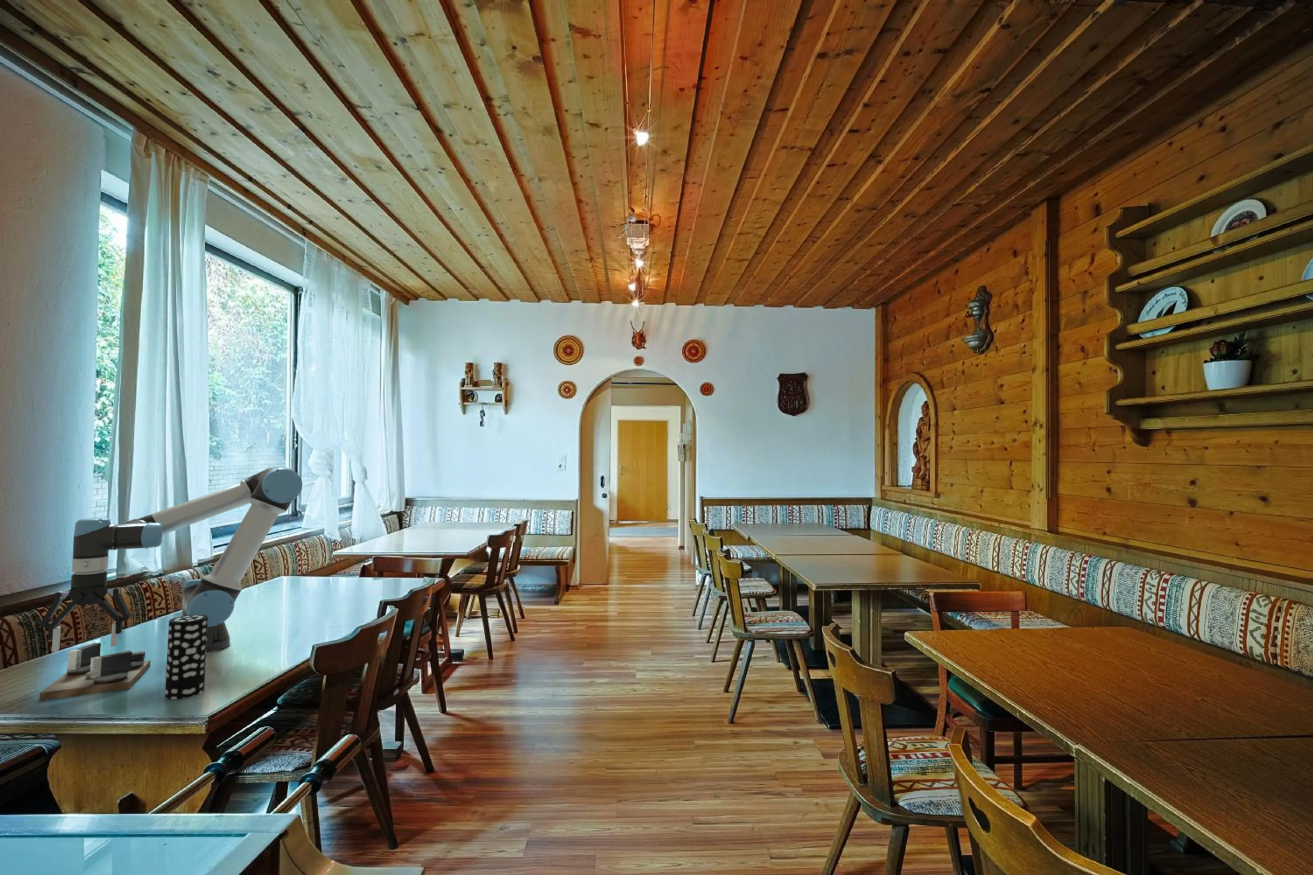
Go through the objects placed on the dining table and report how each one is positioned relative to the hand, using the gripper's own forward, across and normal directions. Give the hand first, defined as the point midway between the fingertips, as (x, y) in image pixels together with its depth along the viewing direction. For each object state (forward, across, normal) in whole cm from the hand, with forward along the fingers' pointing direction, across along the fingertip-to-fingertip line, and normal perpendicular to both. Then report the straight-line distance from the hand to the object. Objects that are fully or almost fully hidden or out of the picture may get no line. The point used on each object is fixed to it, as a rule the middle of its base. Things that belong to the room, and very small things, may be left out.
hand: (85, 648), depth 170 cm
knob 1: (+7, 0, 0) cm, 7 cm away
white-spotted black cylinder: (+9, +28, -26) cm, 39 cm away
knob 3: (+7, +10, -1) cm, 12 cm away
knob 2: (+7, +9, -12) cm, 16 cm away
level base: (+9, +5, -6) cm, 12 cm away
